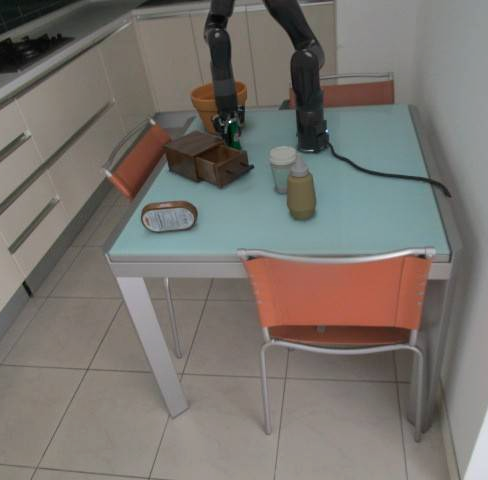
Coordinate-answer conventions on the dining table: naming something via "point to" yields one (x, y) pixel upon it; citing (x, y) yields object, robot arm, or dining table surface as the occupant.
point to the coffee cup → (281, 165)
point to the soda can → (233, 134)
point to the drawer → (223, 165)
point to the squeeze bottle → (300, 190)
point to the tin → (169, 216)
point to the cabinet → (189, 153)
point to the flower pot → (213, 102)
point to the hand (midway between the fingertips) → (232, 139)
